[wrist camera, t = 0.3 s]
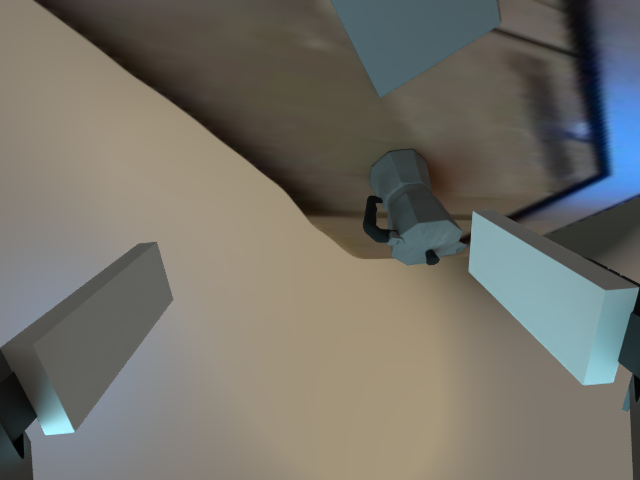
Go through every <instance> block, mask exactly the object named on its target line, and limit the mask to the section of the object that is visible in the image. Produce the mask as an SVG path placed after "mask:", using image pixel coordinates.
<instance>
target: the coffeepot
mask: <svg viewBox="0 0 640 480" xmlns="http://www.w3.org/2000/svg"><path fill="white" fill-rule="evenodd" d="M370 186H371V188H372V189H373V191H374V193H375V194H376V196H369V197H368V199H367V204H366V211H365V217H364V221H363V228H364V231H365V232H366V234H368V235H369V236H370V237H371V238H372V239H373V240H375V241H376V242H379V243H386V244H387V245H391V252H392V257H393V258H395V259H397V260H399V261H401V262H403V263H404V264H406V265H414V264H423V263H427V264H428V265H435V264H436V263H438V262H439V260H440V259H439V258H441V257H443V256H444V255H451V254H456V253H459V252H461V251H462V250H463V249H464V247H466V246H467V245H466V244H464V243H462V242H460V241H459V239H460V236H461V234H462V232H463V231H462V230H461V229H460V227H459V226H458V225H457V223H456V222H455V221H454V220H453V218H452V217H451V216H450V214H449V213H448V212H447V210H446V209H445V208H444V206H443V205H442V204H441V203H440V201H439V200H438V199H437V198H436V197H435V196H434V195H432V186H431V182H430V177H429V173H428V168H427V164H426V161H425V160H424V159H423V158H422V157H421V156H420V155H419V154H418V153H416V152H415V151H414V150H413V149H404V150H396V151H392V152H389V153H387V154H386V155H384V156H383V157H381V158H380V159H379V160H378V161H377V162H376V163H375V165H374V166H373V167H371V174H370ZM376 203H381V204H382V206H383V207H384V209H385V210H387V211H388V218H387V221H388V229H380V228H379V227H377V225H376V212H377V207H376Z"/></svg>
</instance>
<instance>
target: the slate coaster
mask: <svg viewBox="0 0 640 480" xmlns="http://www.w3.org/2000/svg"><path fill="white" fill-rule="evenodd" d="M331 2H332V4H333V6H334V8H335V10H336V12H337V14H338V16H339V18H340V20H341V22H342V24H343V25H344V27H345V29H346V31H347V33H348V35H349V37H350V39H351V41H352V43H353V45H354V47H355V49H356V51H357V53H358V55H359V57H360V59H361V61H362V63H363V65H364V67H365V69H366V71H367V73H368V75H369V77H370V79H371V81H372V83H373V85H374V87H375V89H376V91H377V93H378V95H379V97H380V98H381V97H383V96H384V95H386V94H388V93H389V92H391V91H392V90H394V89H396V88H397V87H399V86H401V85H402V84H404V83H405V82H407V81H409V80H410V79H412V78H414V77H415V76H417V75H418V74H420V73H422V72H423V71H425V70H427V69H428V68H430V67H431V66H433V65H435V64H436V63H438V62H440V61H441V60H443V59H444V58H446V57H448V56H449V55H451V54H453V53H454V52H456V51H457V50H459V49H461V48H462V47H464V46H466V45H467V44H469V43H471V42H472V41H474V40H475V39H477V38H479V37H480V36H482V35H484V34H485V33H487V32H488V31H490V30H492V29H493V28H495V27H497V26H498V25H500V18H499V12H498V6H497V0H331Z"/></svg>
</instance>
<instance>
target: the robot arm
mask: <svg viewBox="0 0 640 480" xmlns="http://www.w3.org/2000/svg"><path fill="white" fill-rule="evenodd" d="M469 272H470V273H471V274H472V275H473V276H474V277H475V278H476V279H477V280H478V281H479V282H480V283H481V284H482V285H483V286H484V287H485V288H486V289H487V290H488V291H489V292H490V293H491V294H492V295H493V296H494V297H495V298H496V299H497V300H498V301H499V302H500V303H501V304H502V305H503V306H504V307H505V308H506V309H507V310H508V311H509V312H510V313H511V314H512V315H513V316H514V317H515V318H516V319H517V320H518V321H519V322H520V323H521V324H522V325H523V326H524V327H525V328H526V329H527V330H528V331H529V332H530V333H531V334H532V335H533V336H534V337H535V338H536V339H537V340H538V341H539V342H540V343H541V344H542V345H543V346H544V347H545V348H546V349H547V350H548V351H549V352H550V353H551V354H552V355H553V356H554V357H555V358H556V359H557V360H558V361H559V362H560V363H561V364H562V365H563V366H564V367H565V368H567V370H568V371H569V372H571V374H573V376H575V378H577V380H579V382H580V383H581V384H583V385H592V384H603V383H613V382H614V379H615V375H616V371H617V368H618V364H619V363H620V364H622V365H623V366H624V367H626V368H627V369H628V370H629V371H630V372H632V373H633V374H632V378H631V381H630V384H629V388H628V391H627V395H626V398H625V401H624V404H623V408H622V410H625V411H628V410H629V409H630V419H631V439H632V440H631V441H632V462H633V480H640V284H639V283H637V282H635V281H633V280H631V279H629V278H627V277H625V276H620V274H619V273H617V272H615V271H613V270H611V269H608V268H607V267H606V266H604V265H602V264H600V263H598V262H596V261H594V260H591V259H588V258H585V257H581V256H579V255H577V254H575V253H573V252H572V251H570V250H568V249H566V248H564V247H562V246H560V245H558V244H556V243H554V242H553V241H551V240H549V239H547V238H545V237H543V236H541V235H539V234H537V233H535V232H534V231H532V230H530V229H528V228H526V227H524V226H522V225H520V224H518V223H516V222H515V221H513V220H511V219H509V218H507V217H505V216H503V215H501V214H499V213H497V212H496V211H494V210H492V209H490V210H480V211H473V217H472V231H471V246H470V261H469ZM172 301H173V297H172V294H171V290H170V287H169V283H168V279H167V276H166V272H165V269H164V265H163V262H162V258H161V255H160V251H159V248H158V244H157V242H151V243H141V244H137V245H136V246H135V247H133V248H132V249H131V250H130V251H128V252H127V253H125V254H124V255H123V256H122V257H120V258H119V259H118V260H116V261H115V262H114V263H112V264H111V265H110V266H108V267H107V268H106V269H104V270H103V271H102V272H100V273H99V274H98V275H96V276H95V277H94V278H92V279H91V280H90V281H88V282H87V283H86V284H84V285H83V286H82V287H80V288H79V289H78V290H76V291H75V292H74V293H73V294H71V295H70V296H68V297H67V298H66V299H64V300H63V301H62V302H60V303H59V304H58V305H56V306H55V307H54V308H52V309H51V310H50V311H49V312H47V313H46V314H44V315H43V316H42V317H40V318H39V319H38V320H36V321H35V322H34V323H33V324H31V325H30V326H28V327H27V328H26V329H24V331H22V332H20V333H19V334H18V335H16V336H15V337H14V338H12V339H11V340H10V341H8V342H7V343H6V344H5V345H3V346H2V347H1V348H0V480H33V469H32V455H31V441H30V440H29V438H28V436H27V434H26V432H25V430H26V429H27V428H28V426H29V425H30V424H31V423H32V422H33V421H34V420H35V419H36V418H37V419H38V421H39V423H40V425H41V427H42V429H43V431H44V433H45V435H52V434H62V433H74V432H76V430H77V429H78V427H79V426H80V425H81V423H82V422H83V421H84V419H85V418H86V417H87V415H88V414H89V412H90V411H91V410H92V408H93V407H94V406H95V405H96V403H97V402H98V401H99V399H100V398H101V396H102V395H103V394H104V392H105V391H106V390H107V388H108V387H109V385H110V384H111V383H112V381H113V380H114V379H115V378H116V376H117V375H118V373H119V372H120V371H121V369H122V368H123V367H124V365H125V364H126V363H127V361H128V360H129V358H130V357H131V356H132V355H133V353H134V352H135V351H136V349H137V348H138V347H139V345H140V344H141V342H142V341H143V340H144V338H145V337H146V336H147V334H148V333H149V332H150V330H151V329H152V328H153V326H154V325H155V323H156V322H157V321H158V320H159V318H160V317H161V315H162V314H163V312H164V311H165V310H166V309H167V307H168V306H169V305H170V303H171V302H172Z"/></svg>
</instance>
